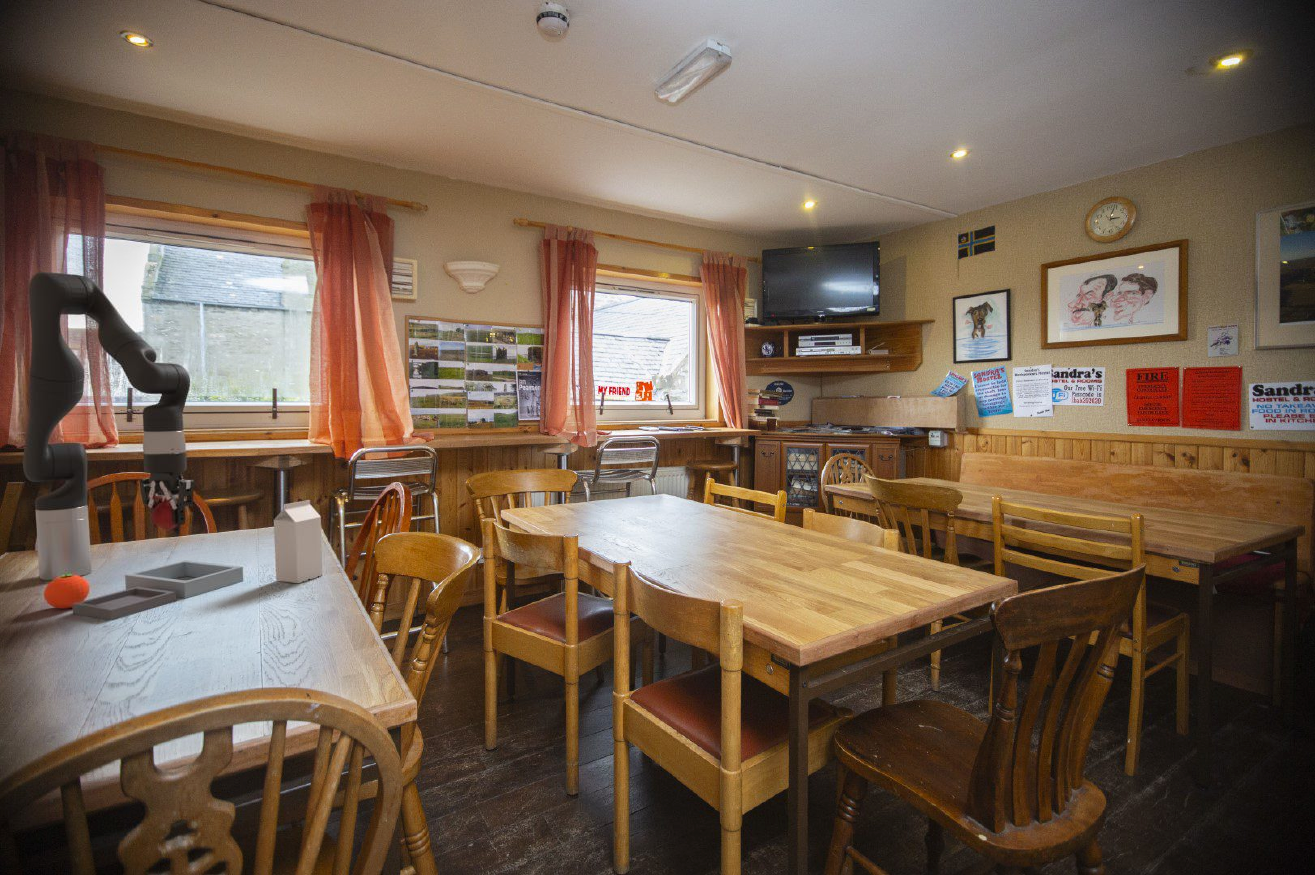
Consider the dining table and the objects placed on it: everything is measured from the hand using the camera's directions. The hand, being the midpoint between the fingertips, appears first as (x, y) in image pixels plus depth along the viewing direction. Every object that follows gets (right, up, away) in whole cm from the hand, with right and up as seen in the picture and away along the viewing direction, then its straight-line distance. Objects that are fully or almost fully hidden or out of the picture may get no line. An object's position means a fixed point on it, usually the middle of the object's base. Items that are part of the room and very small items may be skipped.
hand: (168, 523), depth 138 cm
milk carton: (+24, -15, +10) cm, 30 cm away
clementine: (-14, -16, -10) cm, 23 cm away
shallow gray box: (0, -15, +5) cm, 16 cm away
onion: (0, -2, 0) cm, 2 cm away
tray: (-1, -16, -10) cm, 19 cm away
